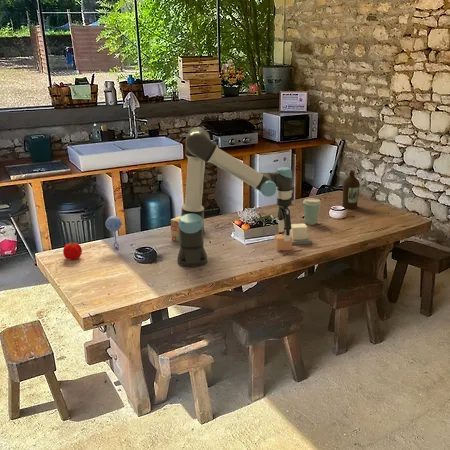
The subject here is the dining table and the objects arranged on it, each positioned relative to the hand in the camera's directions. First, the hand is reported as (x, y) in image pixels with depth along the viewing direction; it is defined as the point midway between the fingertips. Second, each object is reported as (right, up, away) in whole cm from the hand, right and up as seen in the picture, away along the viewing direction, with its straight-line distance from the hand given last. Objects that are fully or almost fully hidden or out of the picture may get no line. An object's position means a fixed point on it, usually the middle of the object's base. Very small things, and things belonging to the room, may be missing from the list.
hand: (284, 236), depth 262 cm
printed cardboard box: (-52, 0, +23) cm, 57 cm away
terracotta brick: (0, -7, +2) cm, 7 cm away
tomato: (-110, -12, -5) cm, 111 cm away
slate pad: (+9, -2, +13) cm, 16 cm away
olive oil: (+52, +18, +67) cm, 86 cm away
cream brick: (+9, -1, +12) cm, 16 cm away
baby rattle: (-91, -7, +7) cm, 91 cm away
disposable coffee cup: (+21, +7, +39) cm, 45 cm away
